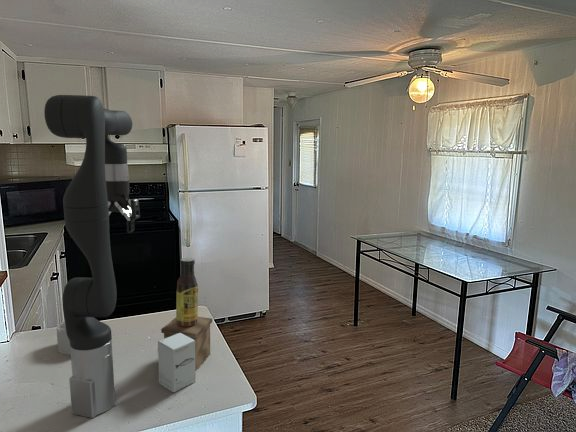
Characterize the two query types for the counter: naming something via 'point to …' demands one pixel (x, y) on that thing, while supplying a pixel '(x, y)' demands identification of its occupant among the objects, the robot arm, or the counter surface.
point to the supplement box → (176, 361)
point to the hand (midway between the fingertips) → (118, 231)
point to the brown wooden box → (193, 336)
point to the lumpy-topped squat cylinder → (63, 339)
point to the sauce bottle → (187, 294)
